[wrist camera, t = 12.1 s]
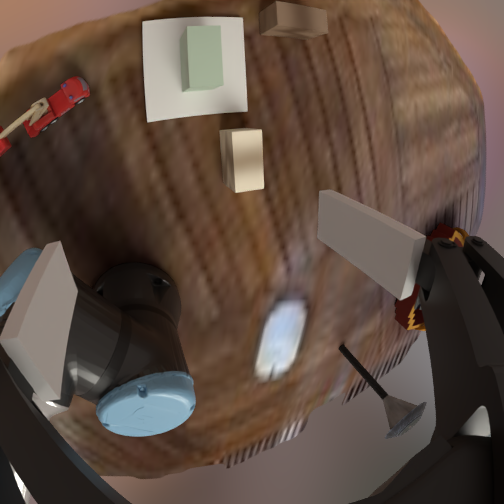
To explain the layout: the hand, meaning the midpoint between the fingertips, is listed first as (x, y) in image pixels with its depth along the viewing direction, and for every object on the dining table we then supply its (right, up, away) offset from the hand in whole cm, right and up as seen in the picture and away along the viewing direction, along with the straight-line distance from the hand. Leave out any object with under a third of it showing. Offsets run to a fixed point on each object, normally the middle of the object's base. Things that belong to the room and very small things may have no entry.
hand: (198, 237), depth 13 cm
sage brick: (-5, +24, +19) cm, 31 cm away
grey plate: (-5, +25, +20) cm, 32 cm away
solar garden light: (+26, -26, +59) cm, 70 cm away
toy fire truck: (-25, +18, +15) cm, 34 cm away
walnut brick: (+7, +34, +21) cm, 40 cm away
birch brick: (0, +14, +28) cm, 31 cm away
